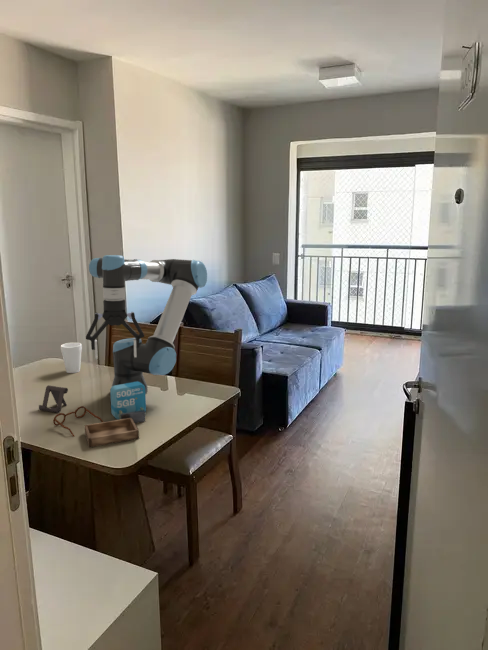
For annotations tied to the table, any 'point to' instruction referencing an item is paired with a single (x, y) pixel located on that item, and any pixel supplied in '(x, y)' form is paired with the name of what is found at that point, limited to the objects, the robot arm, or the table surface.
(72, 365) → the foam cup
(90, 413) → the glasses
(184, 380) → the table surface
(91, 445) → the tray
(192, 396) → the table surface
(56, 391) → the portable electronic device stand
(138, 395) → the data package
